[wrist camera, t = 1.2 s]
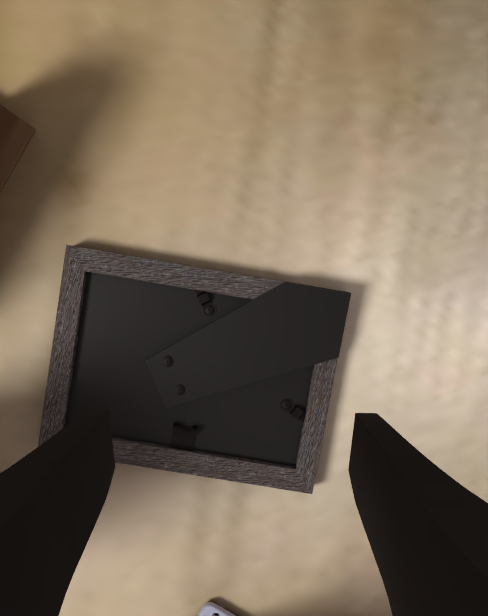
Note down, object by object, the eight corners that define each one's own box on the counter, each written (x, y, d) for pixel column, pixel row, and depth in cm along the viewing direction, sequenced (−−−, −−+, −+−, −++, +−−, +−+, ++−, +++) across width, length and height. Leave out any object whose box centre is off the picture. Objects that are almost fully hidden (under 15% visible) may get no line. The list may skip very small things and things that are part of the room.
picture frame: (343, 291, 28) (76, 246, 28) (351, 292, 26) (63, 244, 26) (308, 482, 29) (48, 440, 29) (313, 497, 27) (34, 452, 27)
